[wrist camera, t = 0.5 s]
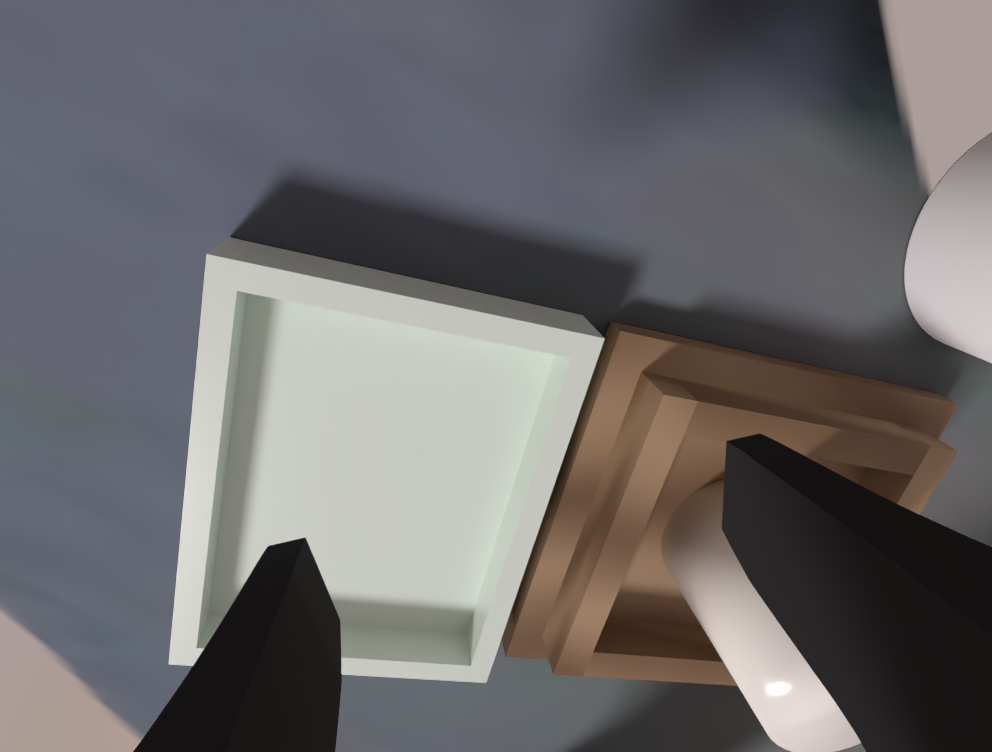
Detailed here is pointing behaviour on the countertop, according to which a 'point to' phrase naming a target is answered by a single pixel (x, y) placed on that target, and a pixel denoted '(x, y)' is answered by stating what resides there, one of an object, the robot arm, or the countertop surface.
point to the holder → (690, 490)
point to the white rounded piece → (749, 631)
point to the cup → (955, 256)
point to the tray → (374, 451)
